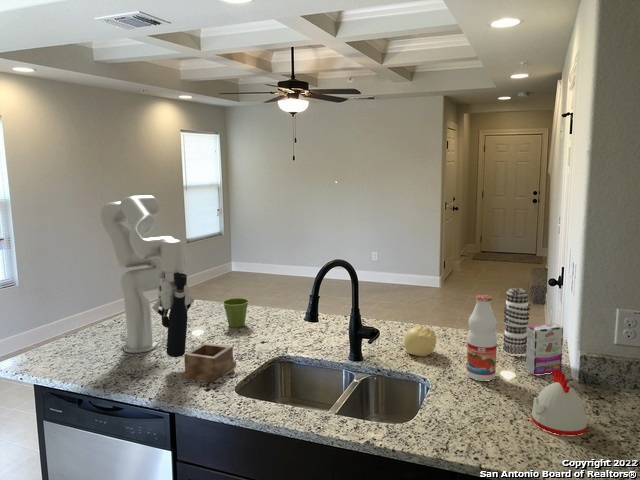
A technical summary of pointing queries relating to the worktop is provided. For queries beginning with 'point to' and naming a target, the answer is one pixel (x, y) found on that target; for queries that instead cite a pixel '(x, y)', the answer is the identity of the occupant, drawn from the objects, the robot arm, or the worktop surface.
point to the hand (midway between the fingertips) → (174, 324)
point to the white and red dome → (559, 408)
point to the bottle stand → (208, 362)
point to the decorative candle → (516, 321)
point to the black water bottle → (177, 320)
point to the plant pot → (236, 311)
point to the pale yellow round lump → (420, 341)
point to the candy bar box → (544, 348)
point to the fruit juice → (482, 341)
